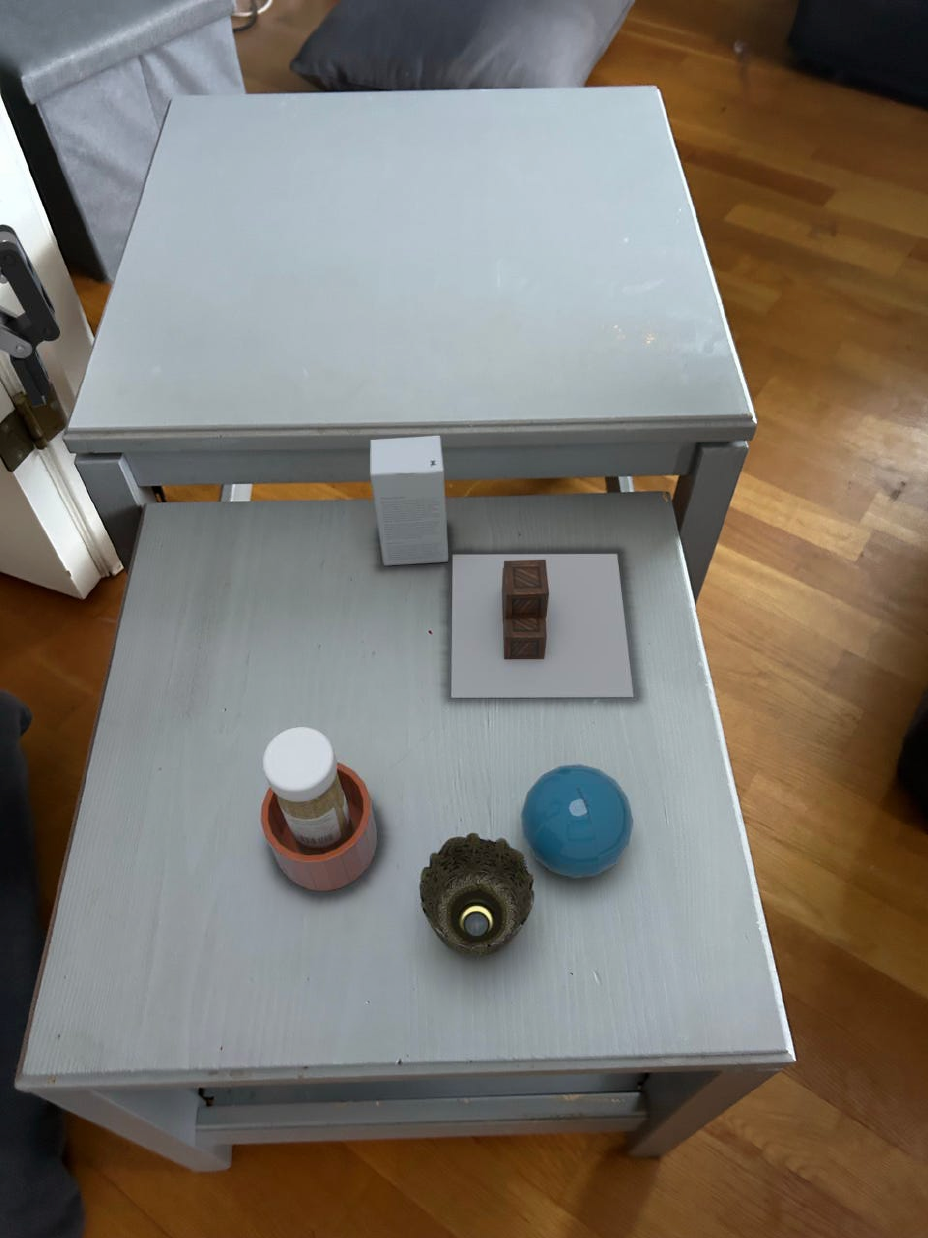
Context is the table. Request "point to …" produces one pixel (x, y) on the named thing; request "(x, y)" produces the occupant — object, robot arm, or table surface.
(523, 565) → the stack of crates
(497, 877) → the cup
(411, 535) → the cosmetic box
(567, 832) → the ball
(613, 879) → the table surface
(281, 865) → the pot
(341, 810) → the sprinkles bottle
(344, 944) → the table surface
